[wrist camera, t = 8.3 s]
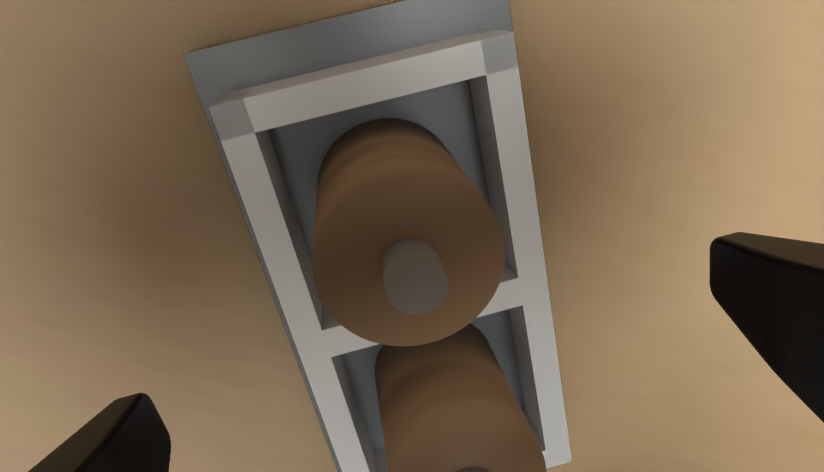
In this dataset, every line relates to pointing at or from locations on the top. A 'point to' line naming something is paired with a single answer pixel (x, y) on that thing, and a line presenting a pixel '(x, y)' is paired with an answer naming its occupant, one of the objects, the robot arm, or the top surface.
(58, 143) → the top surface
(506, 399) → the brown housed cylinder
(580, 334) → the top surface
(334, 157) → the brown cylinder
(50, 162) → the top surface
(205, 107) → the housing
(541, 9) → the top surface
